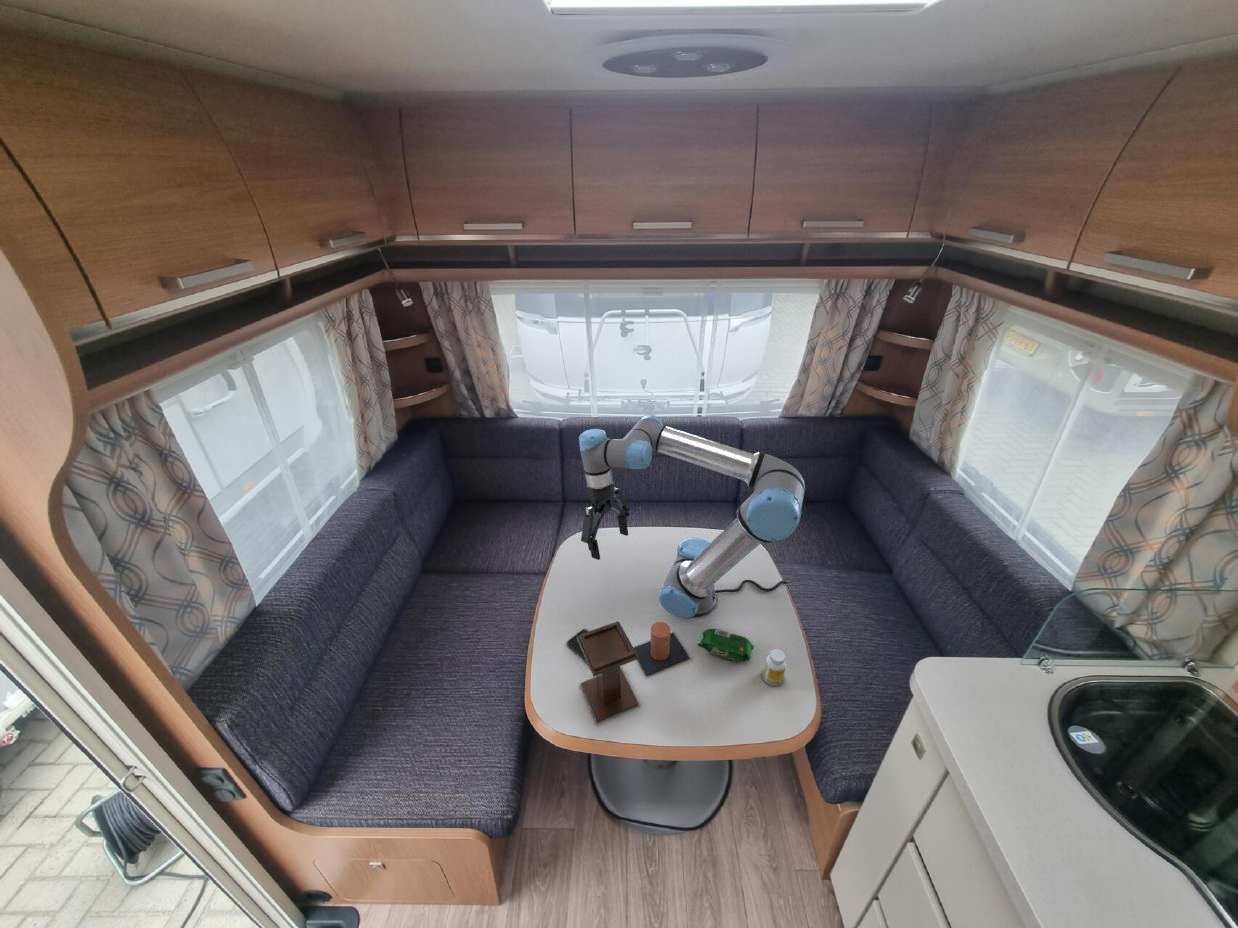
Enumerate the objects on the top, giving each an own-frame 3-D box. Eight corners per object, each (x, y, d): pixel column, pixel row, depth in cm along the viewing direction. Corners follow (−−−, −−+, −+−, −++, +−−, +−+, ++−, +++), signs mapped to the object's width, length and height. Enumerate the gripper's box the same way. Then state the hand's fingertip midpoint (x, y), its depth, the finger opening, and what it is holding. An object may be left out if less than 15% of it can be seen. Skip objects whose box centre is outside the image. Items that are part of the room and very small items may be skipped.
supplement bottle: (758, 673, 138) (763, 651, 133) (773, 666, 140) (778, 644, 135) (771, 689, 134) (776, 666, 129) (786, 681, 136) (792, 658, 131)
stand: (620, 669, 140) (618, 618, 129) (638, 705, 131) (638, 653, 120) (581, 685, 136) (576, 634, 125) (596, 723, 127) (593, 671, 116)
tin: (663, 642, 147) (664, 619, 142) (672, 656, 143) (674, 633, 138) (647, 648, 146) (647, 625, 140) (655, 663, 141) (656, 640, 136)
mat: (672, 633, 151) (673, 632, 151) (689, 658, 143) (689, 657, 143) (631, 649, 146) (631, 647, 146) (646, 676, 138) (646, 674, 138)
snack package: (701, 634, 150) (702, 622, 148) (753, 648, 145) (755, 637, 143) (696, 652, 145) (697, 640, 142) (750, 668, 140) (752, 656, 137)
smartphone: (565, 644, 148) (601, 676, 138) (565, 642, 148) (601, 674, 138) (584, 629, 153) (621, 659, 143) (584, 627, 152) (621, 657, 143)
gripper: (616, 463, 148) (625, 522, 156) (559, 501, 131) (573, 565, 140) (636, 467, 143) (644, 527, 152) (580, 507, 126) (593, 572, 135)
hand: (610, 545), depth 146 cm, fingers open, 13 cm apart
